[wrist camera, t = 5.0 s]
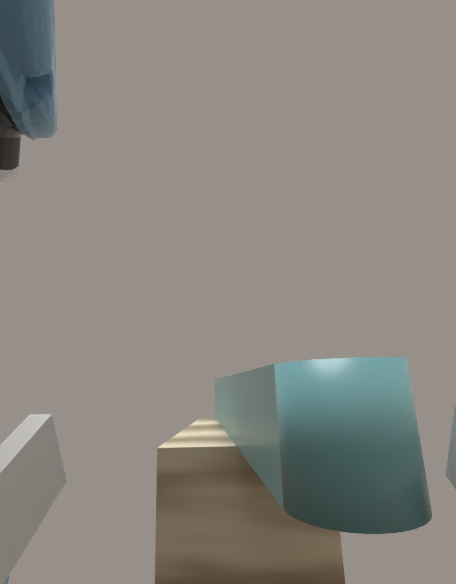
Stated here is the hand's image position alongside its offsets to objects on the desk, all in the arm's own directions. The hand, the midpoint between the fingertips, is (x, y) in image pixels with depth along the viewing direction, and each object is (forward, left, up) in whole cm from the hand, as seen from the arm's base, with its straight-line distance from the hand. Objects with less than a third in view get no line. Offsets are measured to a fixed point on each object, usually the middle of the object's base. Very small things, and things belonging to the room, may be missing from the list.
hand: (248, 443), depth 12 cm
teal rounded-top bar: (-9, +9, -2) cm, 13 cm away
